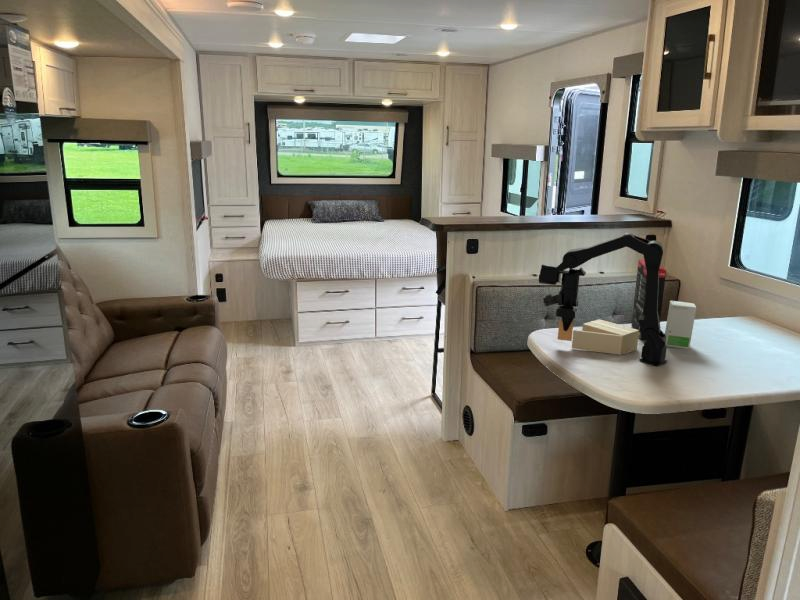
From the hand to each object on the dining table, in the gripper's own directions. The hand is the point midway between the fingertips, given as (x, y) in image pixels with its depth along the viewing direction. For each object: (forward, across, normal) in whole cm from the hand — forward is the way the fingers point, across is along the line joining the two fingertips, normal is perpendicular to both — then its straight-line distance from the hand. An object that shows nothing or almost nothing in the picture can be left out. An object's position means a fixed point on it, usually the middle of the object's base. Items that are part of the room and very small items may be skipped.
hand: (565, 330), depth 206 cm
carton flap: (+6, 0, +8) cm, 10 cm away
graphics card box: (+7, -28, +27) cm, 40 cm away
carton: (+6, -9, +15) cm, 18 cm away
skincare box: (+7, -19, +38) cm, 43 cm away
